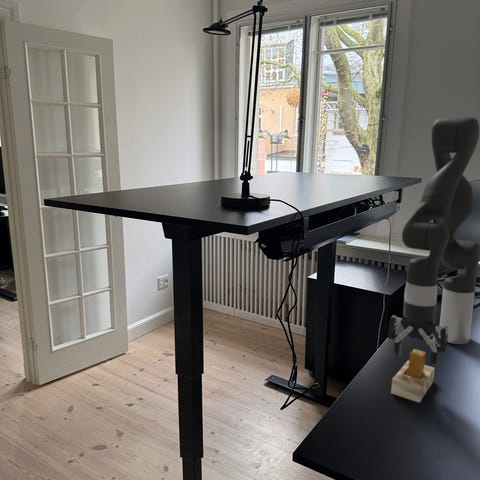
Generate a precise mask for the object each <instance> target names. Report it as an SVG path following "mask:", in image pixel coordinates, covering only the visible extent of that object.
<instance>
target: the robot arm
mask: <svg viewBox="0 0 480 480" xmlns="http://www.w3.org/2000/svg"><path fill="white" fill-rule="evenodd" d="M430 135H431V147H432V151H433V159H434V164H435V170H436V173H435V174H434V175H432V177H431V178H430V179H429V180H428V182H426V183H427V184H426V185H425V187H424V190H423V193H422V196H421V199H420V202H419V204H418V206H417V208H416V209H415V210H414V212H413V214H412V215H411V217H409V219H408V220H407V222H406V223H405V225H404V227H403V229H402V232H401V240H402V243H403V244H404V246H405V247H407V248H409V249H413V250H422V251H429V254H428V256H425V257H413V258H411V259H409V261H408V264H407V272H406V283H405V288H404V293H403V298H404V299H403V309H402V310H403V312H402V317H399V316H398V315H396V314H394V315H392V316H391V317H390V318H389V322H388V329H387V331H388V332H387V338H388V339H389V340H392V341H393V342H394V349H393V353H394V354H395V355H396V356H397V357H400V356H401V355H402V352H403V351H402V350H403V339H404V338H405V337H406V336H408V337H409V338H411V339H417V340H419V341H423V340H424V341H425V343H426V345H428V346H429V347H430V349H431V353H430V363H429V364H430V366H432V367H433V366H435V365H436V364H437V363H438V361H439V356H440V355H439V354H440V353H441V352H442V353H445V352H446V351H447V349H448V347H449V343H450V344H454V345H467V344H468V343H469V342H470V337H471V331H472V329H471V328H472V321H473V320H472V319H473V310H474V302H475V301H474V300H475V291H476V285H477V283H476V282H477V273H478V268H479V263H480V243H479V242H478V241H473V240H464V239H457V238H456V239H455V238H454V235H455V233H456V232H457V230H458V229H459V228H460V227H461V226H462V225H463V224H464V223H465V221H467V219H468V218H469V217H470V216H471V214H472V212H473V210H474V190H473V187H472V185H471V183H470V181H468V179H467V178H466V177H465V176H464V175H463V174H464V173H465V171H466V169H467V166H468V164H469V163H470V161H471V159H472V156H473V154H474V152H475V149H476V148H477V145H478V142H479V137H480V123H479V121H478V119H477V118H475V117H472V116H471V117H469V116H465V117H463V116H462V117H460V116H459V117H442V118H438V119H436V120H435V121H434V122H433V124H432V128H431V134H430ZM451 154H454V156H453V157H452V156H451ZM435 221H439V222H435ZM441 263H442V265H443V266H445V267H448V268H452V269H459V270H464V273H462V274H460V275H459V274H458V275H455V276H454V275H453V276H449V277H446V278H445V279H444V280H443V286H442V295H441V296H442V298H441V308H440V319H439V325H438V326H437V325H436V322H435V321H436V311H437V302H438V301H437V300H438V298H437V297H438V288H437V287H438V286H437V285H438V277H439V268H440V264H441ZM399 324H400V325H401V327H402V328H403V330H402V331H401V332H400V333H399V334H396V331H397V326H399ZM435 332H437V335H438V338H439V339H440V340H439V341H440V342H439V343H438V342H437V340H436V339H437V338H436V337H435V335H434V334H433V333H435Z"/></svg>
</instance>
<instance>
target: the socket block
mask: <svg viewBox="0 0 480 480" xmlns="http://www.w3.org/2000/svg"><path fill="white" fill-rule="evenodd" d="M408 366H409V360H407V361H406V362H405V363H404V364H403V366H402V367H400V369H399V370H398V372H396V374H395V375H394V376H393V377H392V379H391V390H390V394H391V395H395V396H398V397H401V398H404V399H408V400H409V401H414V402H416V403H419V404H420V403H421V401H422V400H423V398H424V396H425V395H426V394H427V392H428V390H429V389H430V388H431V386H432V384H433V383H434V378H435V367H433V366H431V365H430V366H429V365H426V364H424V370H423V377H422V378H421V379H418V378H414V377H411V376H407V374H408Z"/></svg>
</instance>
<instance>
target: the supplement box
mask: <svg viewBox="0 0 480 480" xmlns="http://www.w3.org/2000/svg"><path fill="white" fill-rule="evenodd" d="M426 354H427V353H426V352H425V351H423V350H419V349H415V348H413V350H411V352H409V360H408V361H409V366H408V374H407V376H411V377H414V378H418V379H421V378H422V377H423V370H424V365H425V361H426Z"/></svg>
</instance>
